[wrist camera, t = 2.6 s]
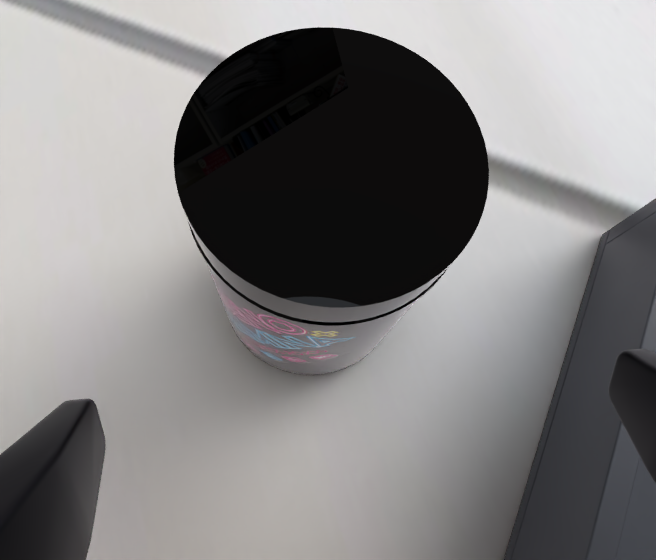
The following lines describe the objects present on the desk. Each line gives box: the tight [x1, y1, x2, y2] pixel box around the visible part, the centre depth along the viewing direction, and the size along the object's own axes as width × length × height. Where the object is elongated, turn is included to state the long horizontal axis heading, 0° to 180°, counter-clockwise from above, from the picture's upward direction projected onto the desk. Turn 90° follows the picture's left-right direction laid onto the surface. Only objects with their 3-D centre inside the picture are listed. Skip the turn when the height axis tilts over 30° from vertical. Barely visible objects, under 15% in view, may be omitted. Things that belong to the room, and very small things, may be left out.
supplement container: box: [174, 28, 489, 375], centre depth 16 cm, size 7×7×10 cm
